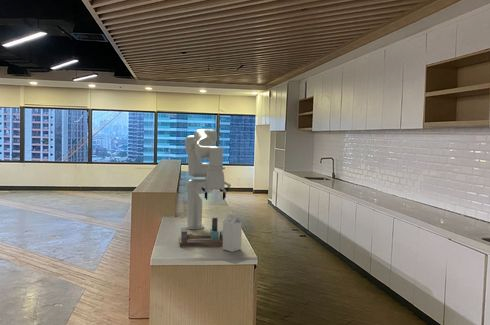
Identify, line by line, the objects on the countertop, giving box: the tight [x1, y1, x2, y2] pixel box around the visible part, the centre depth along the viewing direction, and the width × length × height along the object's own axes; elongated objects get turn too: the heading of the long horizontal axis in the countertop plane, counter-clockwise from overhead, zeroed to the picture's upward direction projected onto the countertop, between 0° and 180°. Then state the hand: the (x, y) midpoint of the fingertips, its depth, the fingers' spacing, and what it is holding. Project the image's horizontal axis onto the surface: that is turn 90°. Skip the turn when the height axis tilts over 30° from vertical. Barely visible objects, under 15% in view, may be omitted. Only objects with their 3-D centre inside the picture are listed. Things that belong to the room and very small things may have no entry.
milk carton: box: [222, 213, 243, 253], centre depth 236 cm, size 7×7×19 cm
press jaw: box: [209, 217, 220, 239], centre depth 249 cm, size 7×4×12 cm, turn 9°
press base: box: [178, 227, 223, 247], centre depth 248 cm, size 12×25×8 cm, turn 99°
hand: (215, 199), depth 248 cm, fingers open, 9 cm apart
